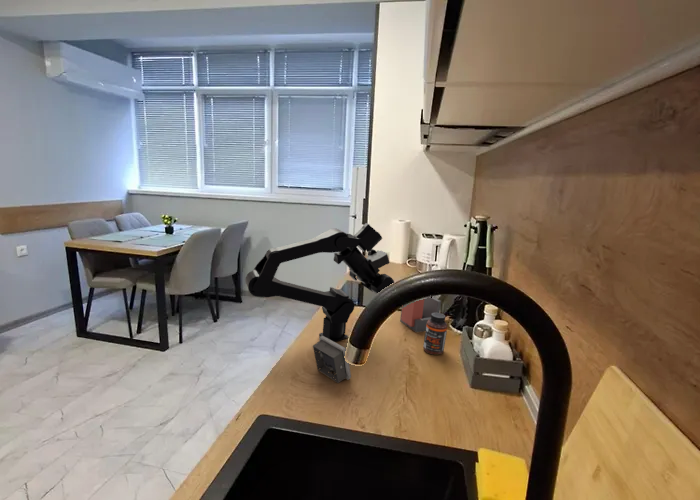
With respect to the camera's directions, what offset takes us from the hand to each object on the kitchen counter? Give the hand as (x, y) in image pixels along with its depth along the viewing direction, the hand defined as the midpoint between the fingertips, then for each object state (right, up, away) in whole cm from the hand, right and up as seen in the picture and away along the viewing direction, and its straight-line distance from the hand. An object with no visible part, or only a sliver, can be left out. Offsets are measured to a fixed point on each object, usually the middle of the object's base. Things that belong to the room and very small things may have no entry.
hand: (384, 294), depth 121 cm
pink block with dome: (+9, -10, +8) cm, 16 cm away
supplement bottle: (+13, -16, -9) cm, 22 cm away
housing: (+12, -12, +9) cm, 19 cm away
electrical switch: (-16, -17, -26) cm, 35 cm away
